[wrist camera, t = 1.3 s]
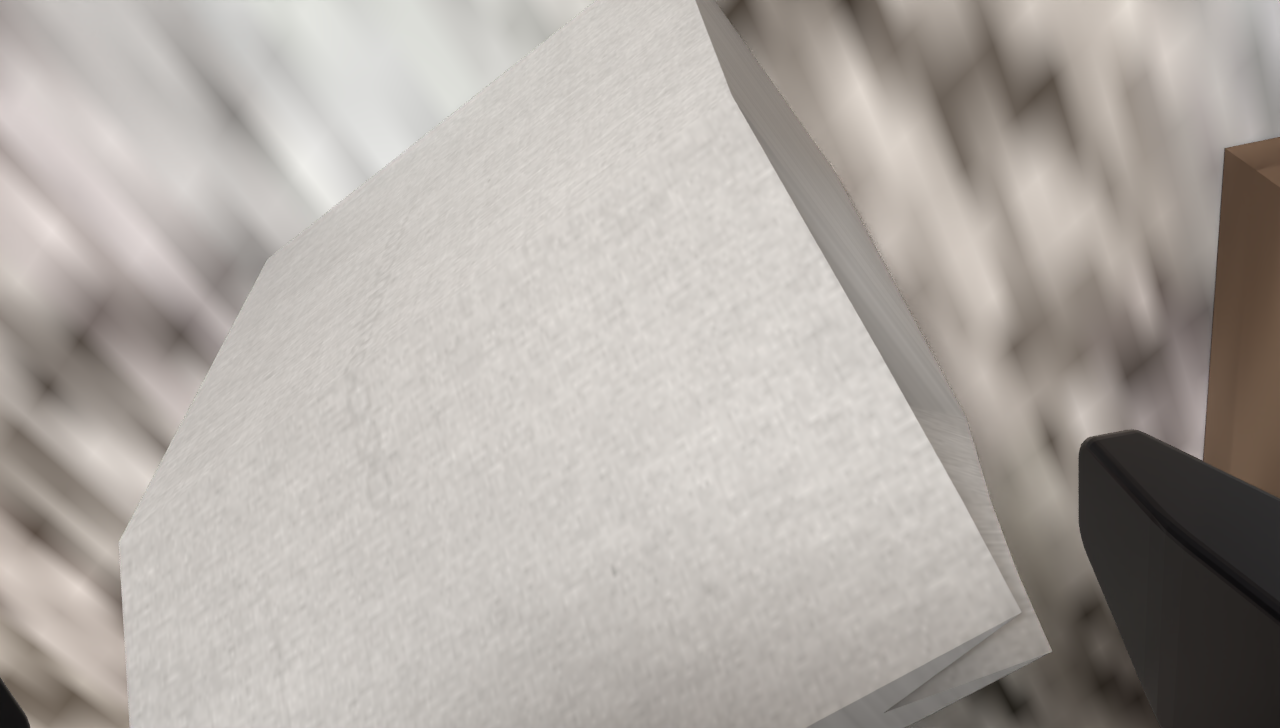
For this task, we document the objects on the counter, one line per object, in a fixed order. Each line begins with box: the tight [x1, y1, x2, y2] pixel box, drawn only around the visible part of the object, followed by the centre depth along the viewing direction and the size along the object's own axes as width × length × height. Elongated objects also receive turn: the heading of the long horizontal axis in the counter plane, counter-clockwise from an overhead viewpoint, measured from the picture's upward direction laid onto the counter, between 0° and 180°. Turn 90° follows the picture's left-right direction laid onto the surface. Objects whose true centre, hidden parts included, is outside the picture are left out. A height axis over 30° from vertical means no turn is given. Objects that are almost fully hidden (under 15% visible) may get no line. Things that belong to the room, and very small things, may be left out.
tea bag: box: [119, 0, 1052, 728], centre depth 11 cm, size 4×7×10 cm, turn 127°
